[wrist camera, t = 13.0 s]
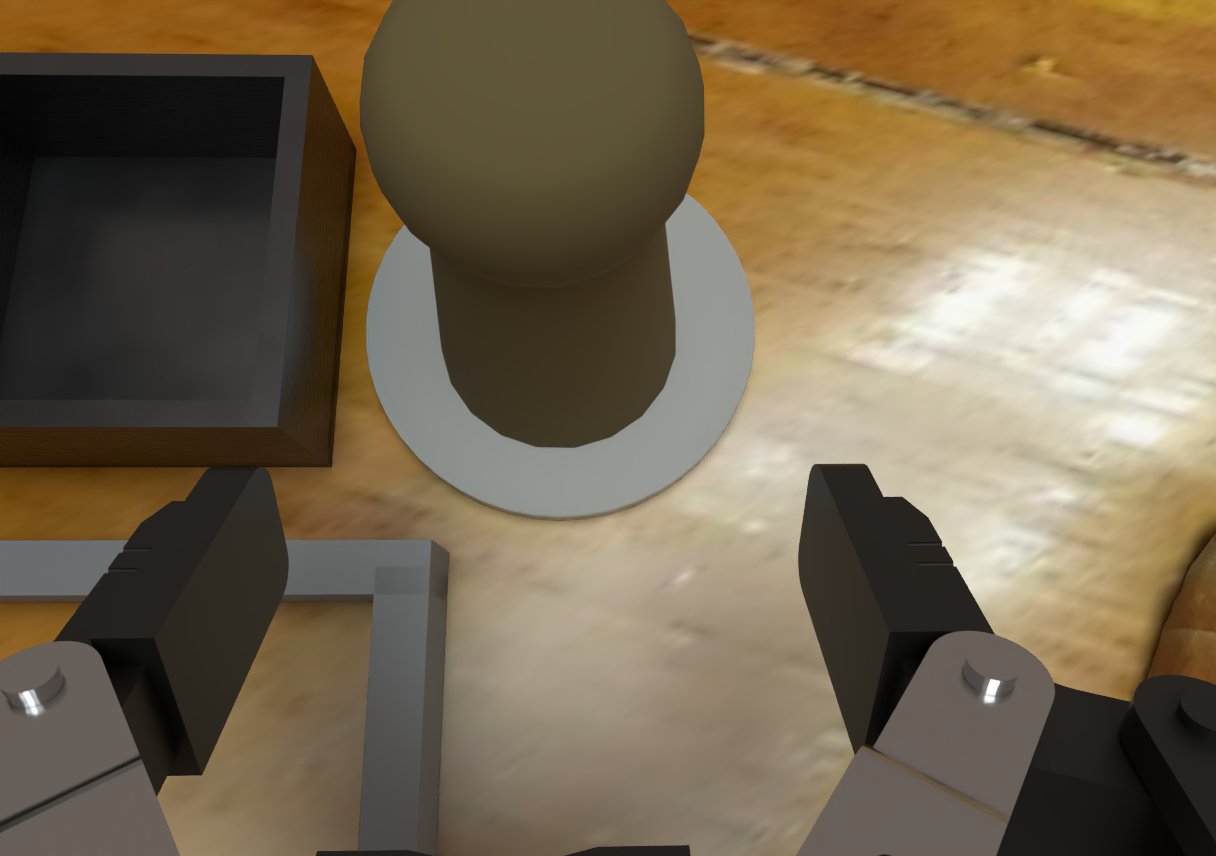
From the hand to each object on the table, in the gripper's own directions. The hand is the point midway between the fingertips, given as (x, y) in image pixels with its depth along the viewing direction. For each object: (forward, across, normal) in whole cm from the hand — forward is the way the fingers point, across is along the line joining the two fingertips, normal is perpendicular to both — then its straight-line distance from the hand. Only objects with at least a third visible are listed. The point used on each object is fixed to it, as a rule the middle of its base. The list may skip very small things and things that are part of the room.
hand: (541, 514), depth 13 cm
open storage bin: (+12, +10, +1) cm, 16 cm away
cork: (+10, 0, +2) cm, 10 cm away
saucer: (+11, 0, +2) cm, 11 cm away
